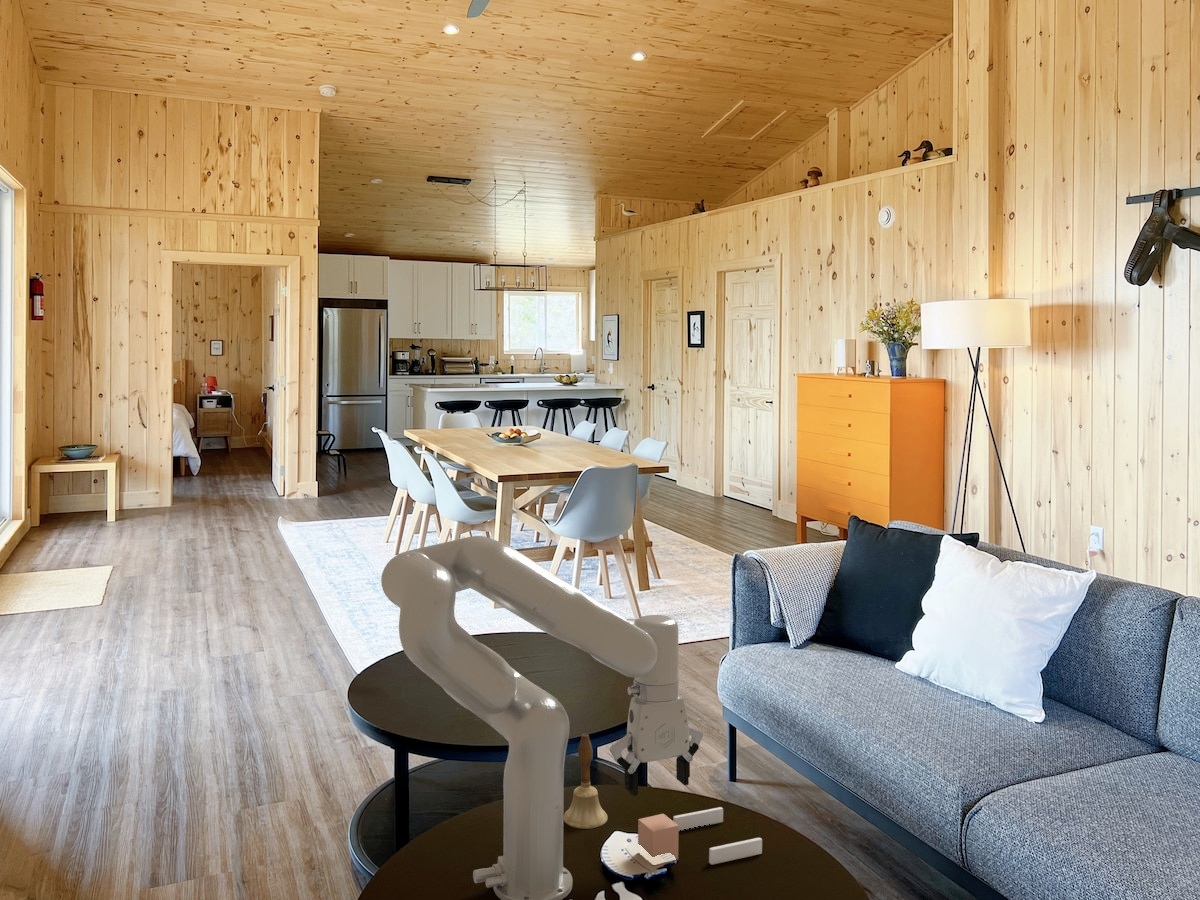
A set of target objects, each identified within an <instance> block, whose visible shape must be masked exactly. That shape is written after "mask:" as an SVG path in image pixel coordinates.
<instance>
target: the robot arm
mask: <svg viewBox="0 0 1200 900" xmlns="http://www.w3.org/2000/svg"><path fill="white" fill-rule="evenodd" d="M380 580H381V581H380V582H381V587H382V591H383V594H384V595H385V596H386V598H387V599H388V600H389V601H390V603H392V604H393V605H395V606H397V607H398V608H399V621H398V634H399V639H400V644H401V648H402V650H403V652H404V654H405V655H406V657H407V658H408V659H409V660H410V662H411V663H412V664H414V665H415V666H416V668H418V669H419V670H421V672H422V673H424V674H425V675H426V676H427V677H429V678H430V679H431V680H432V681H434V682H435V683H436V684H437V685H439V686H440V687H441V688H442V689H443V691H444V692H445V693H446V694H447V695H448V696H450V697H451V698H452V699H453V700H454V701H455V702H456V703H458V704H459V705H460V706H462V707H463V708H465V709H466V710H468V711H470V712H471V713H473V714H474V715H475V716H476V717H478V718H479V719H481V720H483V721H484V722H485V723H487V724H488V725H489V726H490V727H492V728H493V729H494V730H496V731H497V732H498V734H500V735H501V736H502V737H503V738H505V739H506V741H507V742H508V754H507V759H506V761H505V765H504V771H503V782H502V783H503V788H502V789H503V791H502V792H503V843H502V844H503V848H502V850H503V853H502V854H503V855H500V856H497V863H494V864H492V866H491V867H486V868H485V867H483V868H478V869H473V871H472V878H473V882H474V884H480V883H484V882H485V887H486V888H487V889H489V888H493V891H494V894H495V895H496V896H497V897H498V898H499V899H500V900H563V899H564V898H566V897H568V895H569V894H570V893H571V891H572V889H573V881H574V880H573V876H572V874H571V872H570V871H569V870H568V869H567V868H566V867H564V820H563V815H564V795H565V792H564V791H565V790H564V788H565V786H564V782H565V781H564V780H565V779H564V778H565V777H564V776H565V773H564V772H565V761H566V754H567V753H566V751H567V747H568V742H569V737H570V720H569V716H568V714H567V711H566V708H565V707H564V706H563V705H562V703H561V702H560V701H559V700H558V699H557V698H556V697H555V696H553V695H552V694H551V693H549V692H547V691H546V690H544V689H543V688H541V687H540V686H538V685H536V684H535V683H534V682H532V681H531V680H529V679H527V678H526V677H524V676H523V675H522V674H521V673H519V672H518V671H517V670H516V669H515V668H513V667H511V666H510V664H509V663H508V662H507V661H506V660H505V659H504V658H503V657H502V656H501V655H500V654H499V653H497V652H496V651H494V650H493V649H491V648H490V647H488V646H487V645H485V644H484V643H482V642H479V641H478V640H477V639H475V638H474V637H473V636H472V635H471V634H470V633H469V632H468V631H466V630H465V628H463V627H462V626H461V625H459V623H458V622H457V620H456V616H455V605H456V599H457V596H456V595H457V594H456V593H459V592H461V591H464V590H465V591H466V590H468V589H472V590H474V591H475V592H477V593H478V594H480V595H481V596H484V597H485V598H487V599H489V600H490V601H491V602H493V603H495V604H497V605H499V606H500V607H502V608H503V609H506V610H507V611H509V612H511V613H512V614H514V615H515V616H517V617H519V618H521V619H522V620H524V621H526V622H528V623H529V624H530V625H532V626H534V627H535V628H537V629H539V630H541V631H543V632H544V633H545V634H548V635H550V636H552V637H554V638H555V639H558V640H560V641H563V642H565V643H567V644H570V645H572V646H574V647H576V648H578V649H580V650H582V651H583V652H585V653H587V654H589V655H590V656H591V657H592V658H593V659H594V660H595V661H598V662H599V663H600V664H603V666H604V665H605V666H606V667H608V668H611V669H612V670H614V671H616V672H618V673H620V674H622V675H624V676H625V677H628V678H634V679H633V685H631V686H628V687H627V694H628V695H629V696H632V695H633V696H632V697H631V699H630V704H629V708H628V715H627V716H628V717H627V727H626V734H625V735H624V736H623V737H621V738H620V739H619V740H617V741H616V742H615V743H614V744H613V745H611V746H610V747H609V751H610V753H611V755H612V758H614V761H615V762H616V763H617V764H618V765H619V766H620V767H621V768H623V769H624V772H623V773H624V788H625V790H627V792H628V793H630V795H632V797H637V796H638V795H639V774H638V772H637V771H636V770H637V768H638V766H639V765H640V764H641V763H652V762H656V761H662V760H666V759H667V760H668V759H672V758H676V760H675V761H676V763H675V764H676V767H675V768H676V769H675V770H676V780H677V781H679V782H680V783H681V784H682V785H684V786H689V783H690V782H689V780H690V779H689V778H690V776H691V772H690V771H691V769H690V767H691V765H690V763H691V762H693V759H694V758H693V757H694V756H695V754H696V753H697V752H698V750H699V747H700V744H701V742H702V740H703V737H704V732H702V731H700V730H698V729H696V728H694V727H691V726H689V720H688V712H687V708H686V702H685V699H684V695H682V694H680V681H679V680H680V677H679V675H680V674H679V672H680V671H679V669H680V668H679V667H680V663H679V661H680V659H679V625H678V622H677V620H675V618H673V617H670V616H668V615H662V614H651V615H650V614H649V615H644V616H641V617H639V618H624V617H622V616H621V615H619V614H618V613H617V612H615V611H613V610H611V609H609V608H608V607H607V606H605V605H603V604H601V603H599V602H598V601H596V600H595V599H593V598H592V597H591V596H589V595H587V594H586V593H585V592H583V591H582V590H580V589H579V588H577V587H576V586H574V585H573V584H571V583H570V582H568V581H566V580H565V579H563V578H561V577H560V576H557V575H556V574H555V573H553V572H552V571H550V570H548V569H546V568H545V567H544V566H543V565H540V564H539V563H537V562H536V561H534V560H533V559H531V558H529V557H528V556H526V555H525V554H523V553H522V552H520V551H518V550H517V549H515V548H514V547H512V546H510V545H509V544H506V543H504V542H502V541H498V540H496V539H494V538H491V537H487V536H483V535H474V536H467V537H462V538H459V539H454V540H449V541H446V542H442V543H438V544H436V543H435V544H432V545H427V546H424V547H418V548H413V549H410V550H406V551H403V552H400V553H399V554H397V555H395V556H394V557H392V558H391V559H390V560H389V561H387V563H386V564H385V567H384V568H383V571H382V573H381V578H380ZM690 737H691V738H690ZM625 749H627V755H626V756H625V758H624V757H623V754H622V752H623V751H624V750H625Z"/></svg>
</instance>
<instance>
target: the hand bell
mask: <svg viewBox="0 0 1200 900" xmlns="http://www.w3.org/2000/svg"><path fill="white" fill-rule="evenodd" d="M577 748H578V749H577V751H578V760H579V764H580V768H581V769H580V786H579V785H578V787H576V788H575V789H573V796H572V800H571V804H570V806H569V808H568V809H567V810H566V811H565V812H564V813H563V823H565V824H566V825H568V826H570V827H572V828H574V829H582V830H583V829H585V830H589V829H590V830H591V829H595V828H599V827H601V826H604V825H605V824H606V823H607V822H608V817H609V816H608V814H607V812H606V811H605V810H604V809H603V808H602V806H601V804H600V799H599V793H598V790H597V788H596V787H594V786H592V785H591V776H590V775H591V773H590V772H591V771H590V770H591V769H590V767H591V763H592V760H593V759H592V758H593V746H592V742H591V740H590V735H589V734H588V733H582V734H581V737H580V741H579V744H578V747H577Z"/></svg>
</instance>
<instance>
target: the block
mask: <svg viewBox="0 0 1200 900" xmlns="http://www.w3.org/2000/svg"><path fill="white" fill-rule="evenodd" d="M637 823H638V825H637V827H638V829H637V831H638V832H637V835H638V836H637V845H638V844H639V845H641V846H642V847H643V848H644V849H645V850H646V851H647V852H648V853H649V854H650V855H651V856H652V857H655V856H657V855H661V854H665V853H671V854H672V855H674V856H675V857H676V859H677V860H676V861H678V860H679V832H680V831H679V825H677V824H676V823H675V822H674V821H673V820H672V819H671V818H670V817H668V816H667V815H666V814H664V813H660V814H655V815H652V816H646V817H642V818H639V819H638V820H637Z"/></svg>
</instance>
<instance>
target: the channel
mask: <svg viewBox="0 0 1200 900" xmlns="http://www.w3.org/2000/svg"><path fill="white" fill-rule="evenodd" d="M672 821H674V822H675V823H676V824H677V825H679V832H680V830H681V831H685V830H684V829H686V830H689V828H691V829H695V828H694V827H696V828H699V827H698V826H701V827H705V826H704V825H706V826H710V825H715V824H721V823H724V808H723V807H722V806H718V807H713V808H709V809H704V810H698V811H693V812H689V813H687V812H686V813H683V814H677V815H673V820H672ZM709 824H710V825H709ZM708 852H709V854H708V863H709V864H710V865H712V866H713V865H717V864H721V863H725V862H730V861H734V860H739V859H743V858H748V857H749V858H750V857H753V856H756V855H761V854H763V853H762V852H763V839H762V838H761V837H754V838H751V839H746V840H740V841H735V842H731V843H726V844H722V845H717V846H713V847H710V848H709V851H708Z"/></svg>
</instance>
